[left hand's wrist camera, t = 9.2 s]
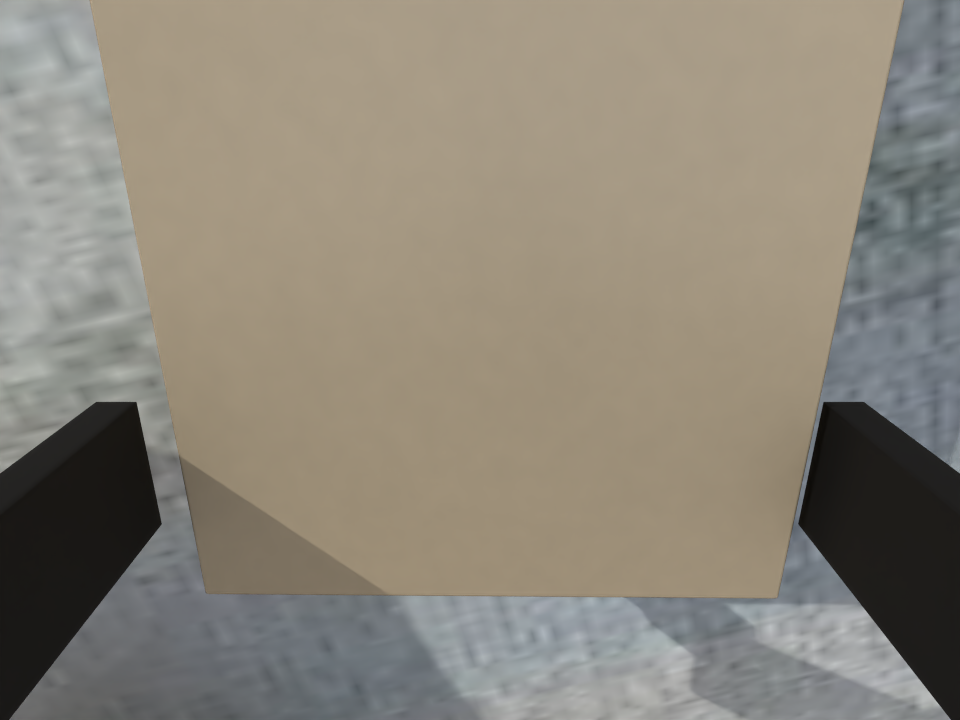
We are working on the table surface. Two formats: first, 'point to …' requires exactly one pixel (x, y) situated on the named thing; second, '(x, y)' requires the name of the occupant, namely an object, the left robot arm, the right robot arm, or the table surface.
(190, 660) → the table surface
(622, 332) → the tan box
